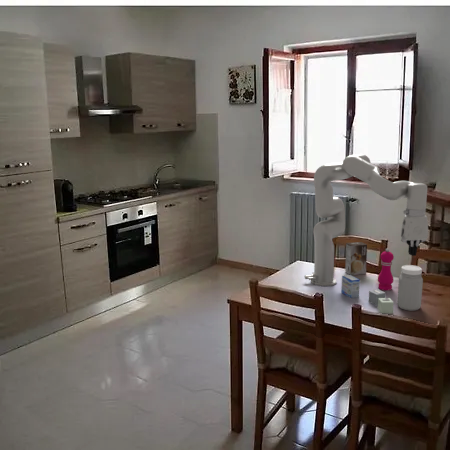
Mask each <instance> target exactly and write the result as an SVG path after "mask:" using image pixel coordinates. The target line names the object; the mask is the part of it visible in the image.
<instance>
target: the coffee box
mask: <svg viewBox="0 0 450 450" xmlns="http://www.w3.org/2000/svg"><path fill="white" fill-rule="evenodd" d="M367 254H368V244H367V243H364V242H362V241H359V242H357V241H356V242H346V244H345V271H346V272H345V273H346V274H347V275H349V274H350V275H351V276H354V275H356V276H357V275H366V274H367V261H368V260H367V259H368V258H367V256H368V255H367Z"/></svg>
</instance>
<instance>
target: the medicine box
mask: <svg viewBox="0 0 450 450" xmlns="http://www.w3.org/2000/svg"><path fill="white" fill-rule="evenodd" d="M360 282H361V280H360V279H359V278H357V277H355V276H354V275H349V274H345V275H342V276H341V288H340V289H341V291H340V292H341V294H343V295H345V296H347V297H348V298H351V299H354V298H355V299H356V298H359V297H360V284H361V283H360Z"/></svg>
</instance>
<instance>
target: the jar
mask: <svg viewBox="0 0 450 450" xmlns="http://www.w3.org/2000/svg"><path fill="white" fill-rule="evenodd" d="M422 271H423V268H421V267H420V266H418V265H415V264H414V265H412V264H405V265H402V266H401V268H400V275H399V277H398V288H397V302H396V304H397V306H398V307H399V308H400V309H402V310H405V311H409V312H410V311H411V312H412V311H418V310H419V309H420V308H421V307H422V306H421V305H422V297H423V296H422V295H423V285H424V284H423V283H424V279H423V277H422V273H423V272H422Z"/></svg>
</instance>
